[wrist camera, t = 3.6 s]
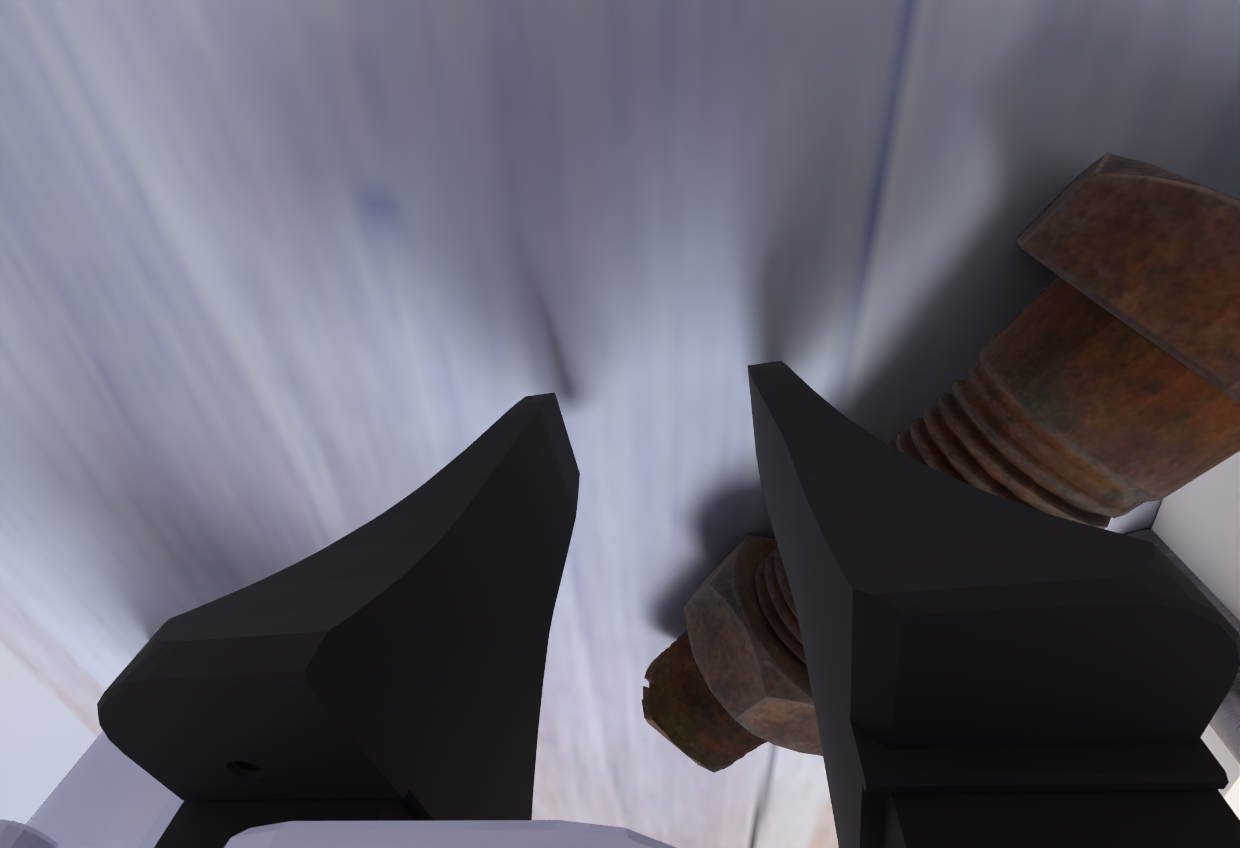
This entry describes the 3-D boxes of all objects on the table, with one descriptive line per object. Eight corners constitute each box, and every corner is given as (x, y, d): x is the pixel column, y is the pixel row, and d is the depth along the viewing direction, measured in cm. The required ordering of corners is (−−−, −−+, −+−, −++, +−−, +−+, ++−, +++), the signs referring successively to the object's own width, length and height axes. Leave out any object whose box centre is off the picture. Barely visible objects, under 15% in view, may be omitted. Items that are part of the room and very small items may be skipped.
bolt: (665, 593, 19) (1082, 166, 11) (785, 713, 18) (1354, 338, 10) (558, 717, 14) (1148, 127, 6) (710, 889, 13) (1694, 454, 5)
